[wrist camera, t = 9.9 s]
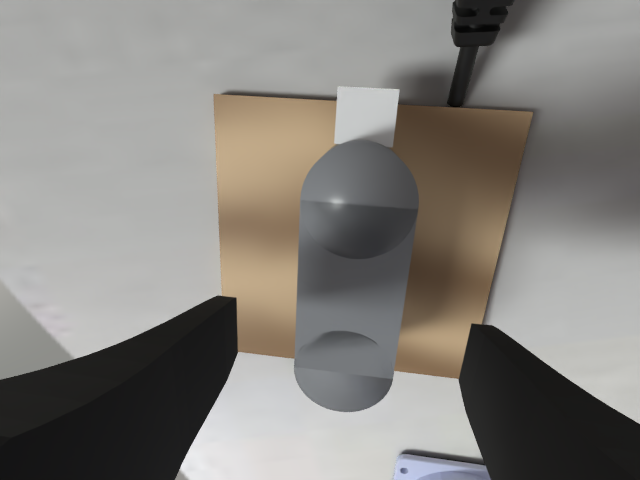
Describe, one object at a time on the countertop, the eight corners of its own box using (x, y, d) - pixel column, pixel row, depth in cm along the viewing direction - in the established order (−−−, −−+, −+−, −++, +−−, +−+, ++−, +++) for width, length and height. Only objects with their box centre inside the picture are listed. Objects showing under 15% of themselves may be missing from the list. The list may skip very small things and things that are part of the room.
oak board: (465, 372, 20) (468, 379, 19) (227, 343, 21) (224, 350, 21) (527, 112, 15) (533, 111, 15) (218, 95, 17) (213, 94, 16)
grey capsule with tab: (381, 345, 19) (387, 417, 15) (309, 337, 20) (292, 405, 15) (413, 95, 15) (437, 85, 10) (322, 91, 16) (304, 79, 11)
